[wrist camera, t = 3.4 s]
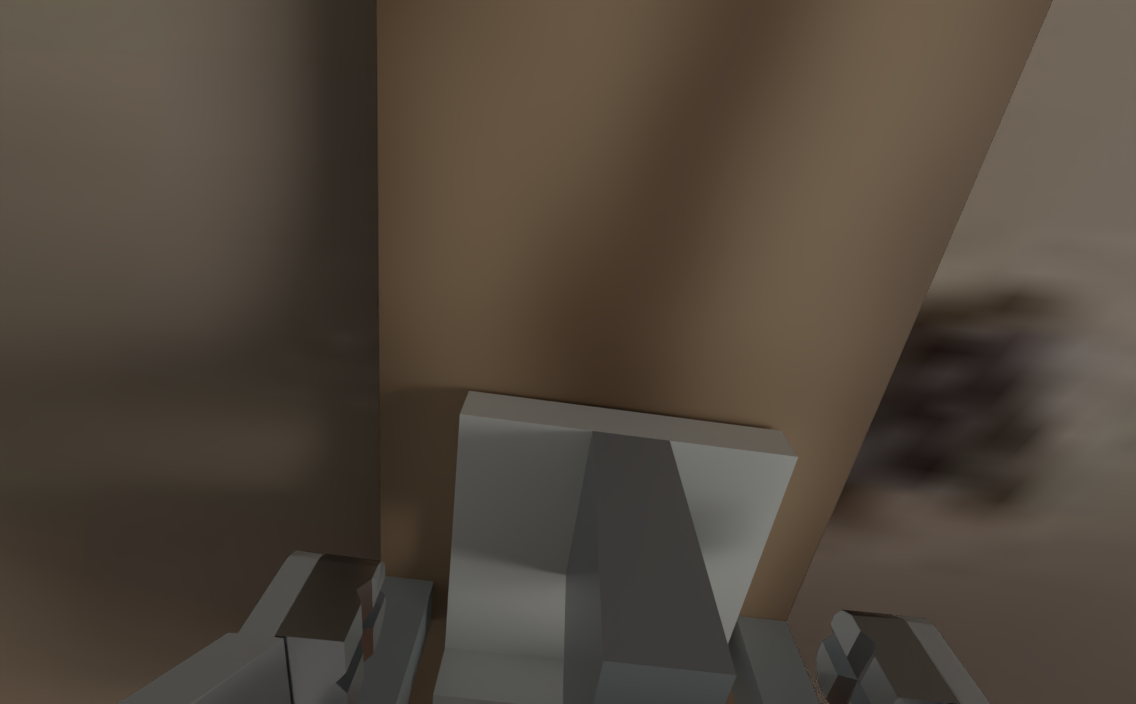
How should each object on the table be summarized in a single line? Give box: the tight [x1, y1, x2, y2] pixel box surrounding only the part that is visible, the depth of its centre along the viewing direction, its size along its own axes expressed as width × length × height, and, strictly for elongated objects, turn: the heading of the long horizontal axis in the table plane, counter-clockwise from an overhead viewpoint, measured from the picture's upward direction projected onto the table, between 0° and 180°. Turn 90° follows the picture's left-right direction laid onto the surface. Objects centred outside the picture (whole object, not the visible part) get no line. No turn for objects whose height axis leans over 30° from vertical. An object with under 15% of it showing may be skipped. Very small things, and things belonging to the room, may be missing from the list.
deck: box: [377, 0, 1053, 704], centre depth 17 cm, size 11×39×3 cm, turn 172°
